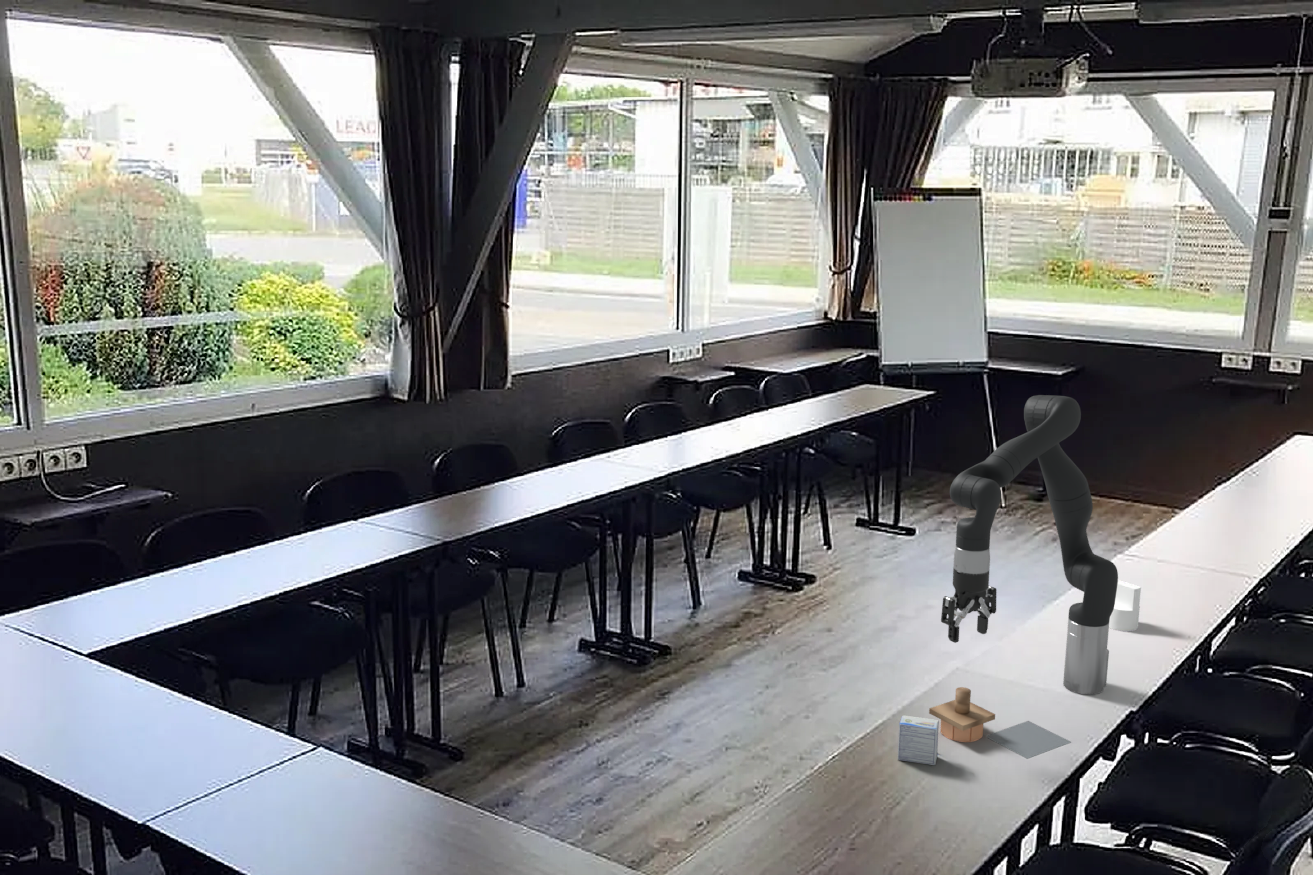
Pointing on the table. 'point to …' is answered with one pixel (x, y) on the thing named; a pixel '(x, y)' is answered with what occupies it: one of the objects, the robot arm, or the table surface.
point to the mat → (1028, 739)
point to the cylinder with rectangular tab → (1126, 607)
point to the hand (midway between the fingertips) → (967, 637)
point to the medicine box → (918, 740)
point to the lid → (962, 711)
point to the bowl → (961, 732)
